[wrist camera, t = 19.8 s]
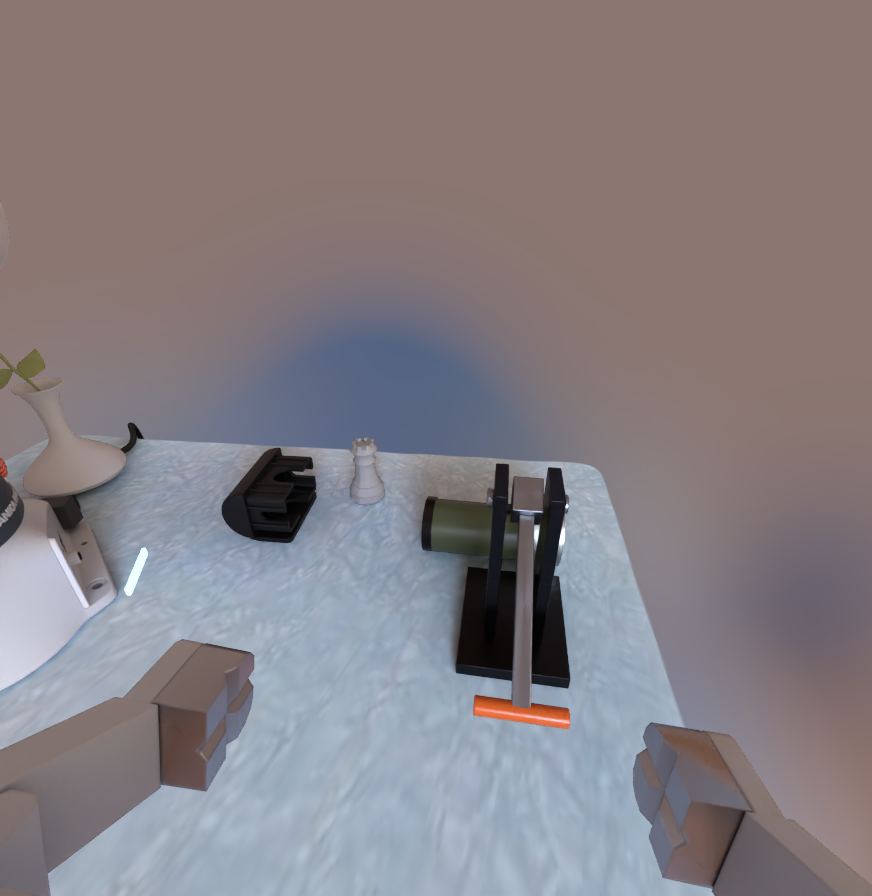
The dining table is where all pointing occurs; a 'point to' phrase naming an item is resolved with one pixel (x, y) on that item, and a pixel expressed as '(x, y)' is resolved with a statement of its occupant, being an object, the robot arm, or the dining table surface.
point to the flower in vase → (60, 439)
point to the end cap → (271, 498)
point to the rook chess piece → (365, 474)
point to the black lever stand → (494, 596)
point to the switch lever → (523, 619)
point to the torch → (470, 529)
